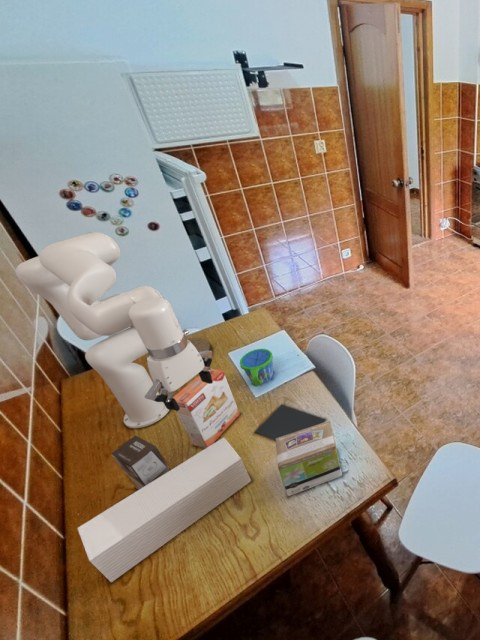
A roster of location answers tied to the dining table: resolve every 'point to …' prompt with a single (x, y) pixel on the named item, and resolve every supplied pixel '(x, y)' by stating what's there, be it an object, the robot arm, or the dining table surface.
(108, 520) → the white long rectangular block
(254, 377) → the snack cup
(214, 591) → the dining table surface
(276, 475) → the dining table surface
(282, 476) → the tea box
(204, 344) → the round cork coaster
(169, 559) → the dining table surface
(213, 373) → the cracker box
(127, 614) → the dining table surface
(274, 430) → the placemat
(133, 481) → the coffee box
